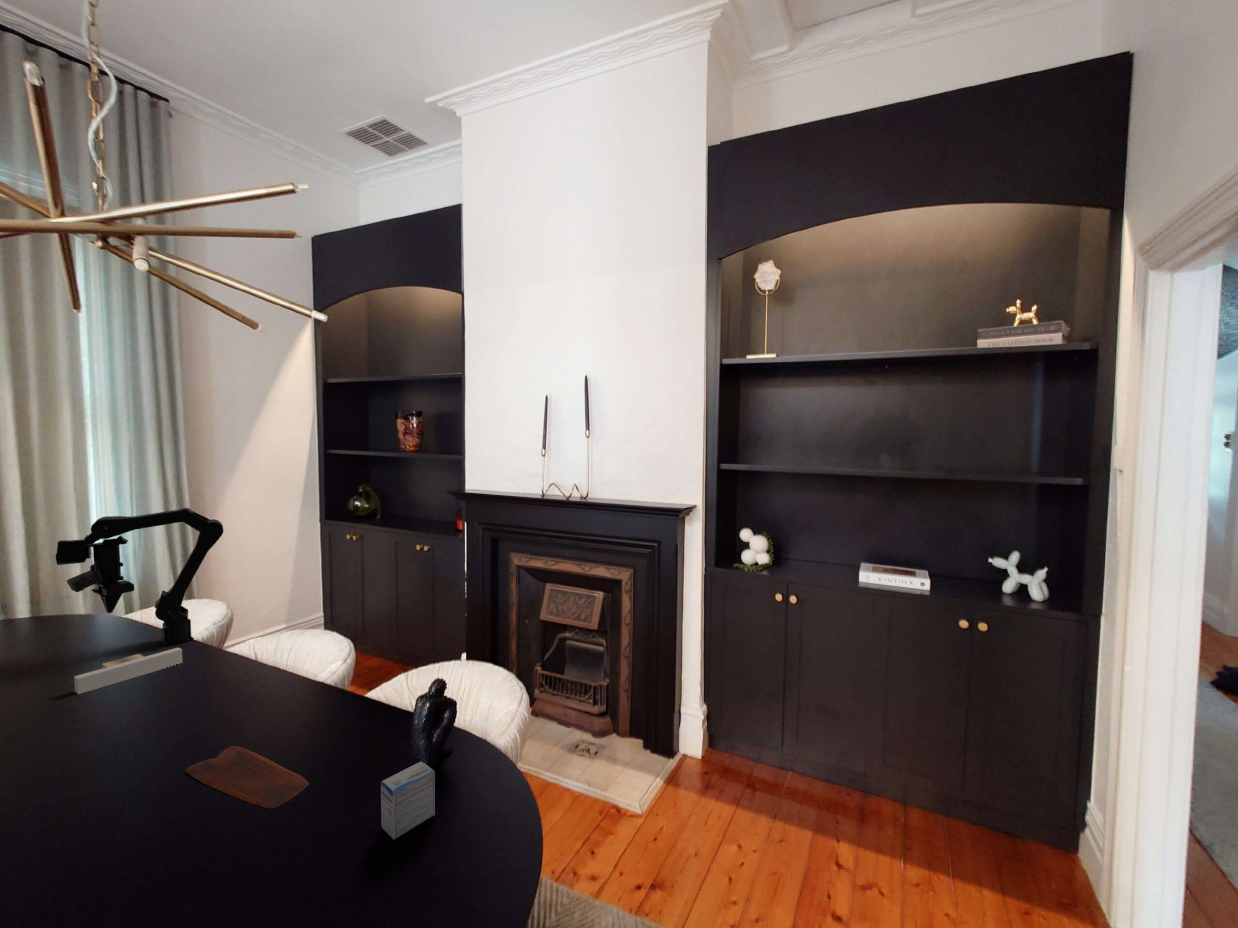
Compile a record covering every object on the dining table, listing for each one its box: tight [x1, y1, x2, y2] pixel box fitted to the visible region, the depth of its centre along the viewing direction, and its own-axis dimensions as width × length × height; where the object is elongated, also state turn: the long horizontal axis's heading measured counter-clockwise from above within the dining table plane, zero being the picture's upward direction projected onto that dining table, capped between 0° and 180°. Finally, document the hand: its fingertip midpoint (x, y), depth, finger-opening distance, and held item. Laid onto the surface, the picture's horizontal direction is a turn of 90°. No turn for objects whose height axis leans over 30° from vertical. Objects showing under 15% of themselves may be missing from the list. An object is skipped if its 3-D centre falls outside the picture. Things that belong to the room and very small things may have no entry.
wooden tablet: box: [185, 745, 310, 809], centre depth 109 cm, size 27×10×2 cm, turn 65°
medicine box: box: [380, 761, 436, 840], centre depth 98 cm, size 8×4×9 cm, turn 141°
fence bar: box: [73, 647, 183, 695], centre depth 150 cm, size 22×2×4 cm, turn 148°
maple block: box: [101, 653, 145, 669], centre depth 152 cm, size 8×6×4 cm
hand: (109, 612), depth 164 cm, fingers closed
